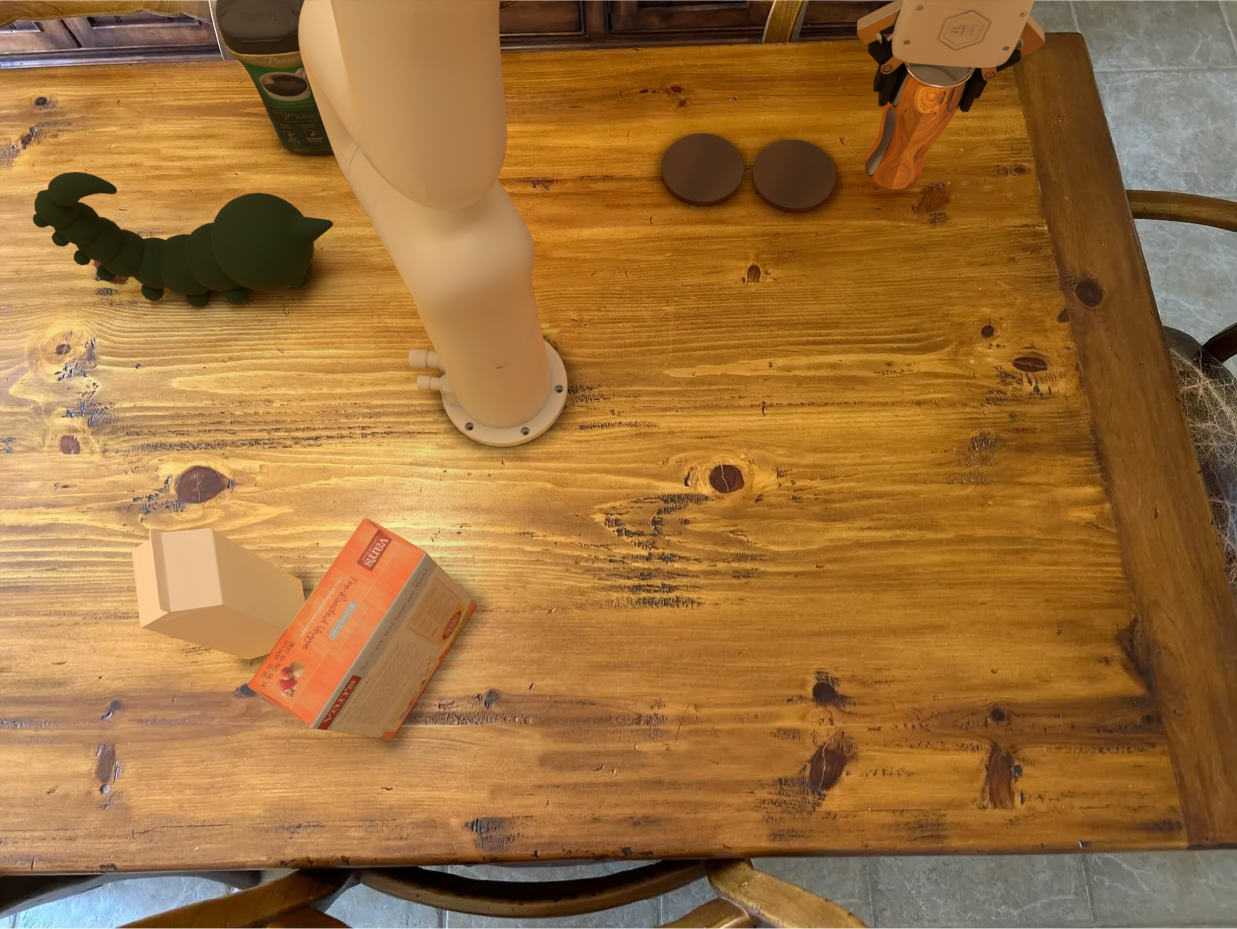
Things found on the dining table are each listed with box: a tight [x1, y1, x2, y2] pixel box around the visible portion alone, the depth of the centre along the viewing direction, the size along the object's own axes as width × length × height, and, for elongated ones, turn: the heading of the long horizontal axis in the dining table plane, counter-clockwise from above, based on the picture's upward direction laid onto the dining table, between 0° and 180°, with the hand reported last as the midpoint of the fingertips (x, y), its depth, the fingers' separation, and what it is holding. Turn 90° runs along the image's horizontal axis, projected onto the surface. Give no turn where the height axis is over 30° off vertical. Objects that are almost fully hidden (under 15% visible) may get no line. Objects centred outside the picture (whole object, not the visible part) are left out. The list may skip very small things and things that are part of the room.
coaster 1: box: [661, 132, 745, 207], centre depth 97 cm, size 9×9×1 cm
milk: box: [131, 527, 306, 661], centre depth 71 cm, size 6×6×22 cm
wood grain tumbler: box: [863, 62, 976, 191], centre depth 86 cm, size 7×7×15 cm
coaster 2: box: [751, 139, 837, 214], centre depth 97 cm, size 9×9×1 cm
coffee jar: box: [215, 0, 334, 155], centre depth 91 cm, size 10×8×19 cm
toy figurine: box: [32, 171, 334, 308], centre depth 85 cm, size 9×19×25 cm
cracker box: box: [247, 516, 478, 740], centre depth 71 cm, size 14×6×21 cm, turn 150°
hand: (922, 96), depth 84 cm, fingers closed on wood grain tumbler, 7 cm apart
